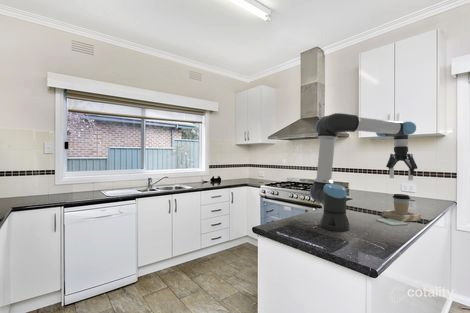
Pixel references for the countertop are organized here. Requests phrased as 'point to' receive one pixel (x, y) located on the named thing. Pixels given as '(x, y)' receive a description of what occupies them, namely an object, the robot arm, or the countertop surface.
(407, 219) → the holder
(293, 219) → the countertop surface
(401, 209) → the coffee cup
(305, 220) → the countertop surface
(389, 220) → the coaster
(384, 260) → the countertop surface
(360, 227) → the countertop surface
